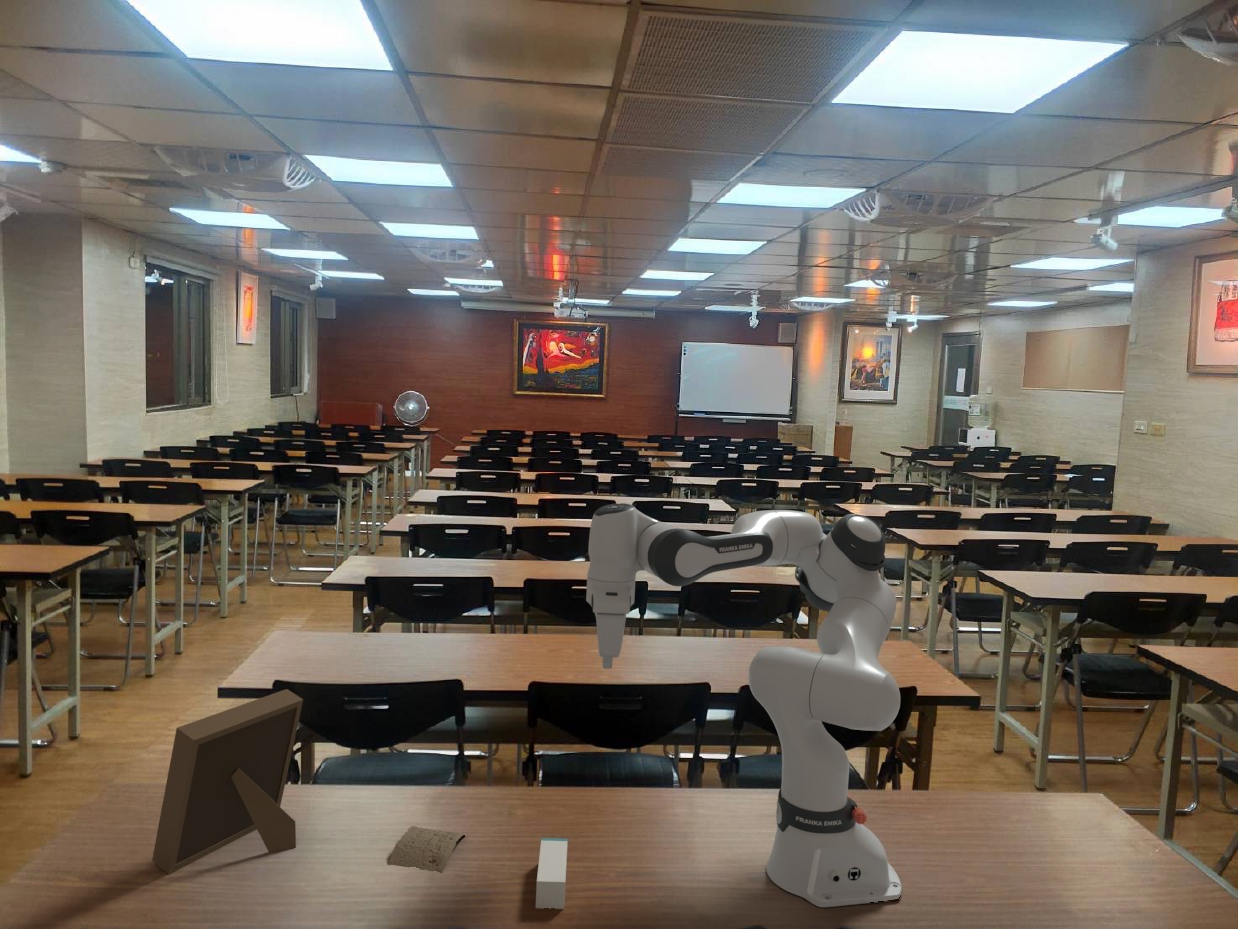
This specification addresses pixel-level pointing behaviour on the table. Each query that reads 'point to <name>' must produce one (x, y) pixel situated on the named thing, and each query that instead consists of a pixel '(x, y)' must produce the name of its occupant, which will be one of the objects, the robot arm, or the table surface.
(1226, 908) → the table surface
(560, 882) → the block
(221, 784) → the photo frame
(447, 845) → the clay tablet
